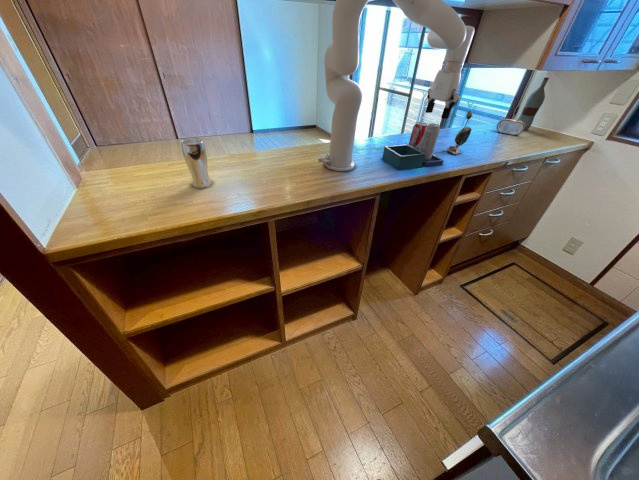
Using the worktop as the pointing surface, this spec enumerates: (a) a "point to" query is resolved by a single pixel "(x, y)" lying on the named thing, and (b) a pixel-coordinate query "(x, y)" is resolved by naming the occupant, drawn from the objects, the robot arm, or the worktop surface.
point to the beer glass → (196, 161)
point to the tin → (510, 126)
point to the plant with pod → (461, 136)
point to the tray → (432, 161)
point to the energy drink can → (429, 140)
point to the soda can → (417, 135)
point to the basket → (403, 156)
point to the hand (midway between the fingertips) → (436, 115)
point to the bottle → (533, 105)
